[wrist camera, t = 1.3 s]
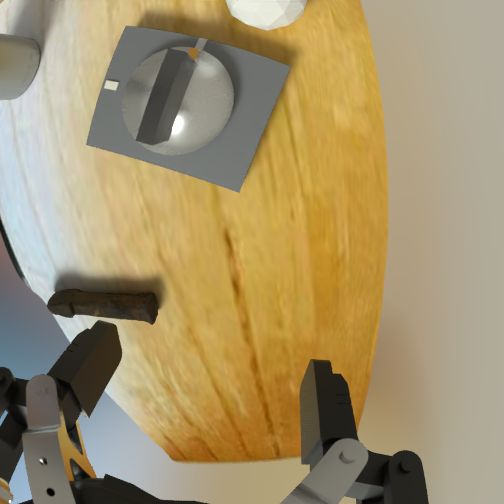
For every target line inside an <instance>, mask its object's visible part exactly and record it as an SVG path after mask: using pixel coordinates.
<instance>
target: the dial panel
mask: <svg viewBox="0 0 504 504" xmlns="http://www.w3.org/2000/svg"><path fill="white" fill-rule="evenodd" d="M173 47H191V48H197V49H200V50H203V51H205V52H207V53H209V54H211V55H212V56H214V57H215V58H216V59H217V60H219V61H220V62H221V64H222V65H223V66H224V67H225V69H226V70H227V72H228V74H229V76H230V78H231V81H232V84H233V89H234V105H233V110H232V113H231V116H230V118H229V120H228V123H227V124H226V126H225V127H224V129H223V130H222V131H221V133H220V134H219V135H218V136H217V137H216V138H215V139H214V140H212V141H211V142H210V143H208V144H207V145H205V146H204V147H202V148H200V149H198V150H196V151H193V152H190V153H187V154H181V155H164V154H159V153H156V152H153V151H150V150H149V149H147V148H145V147H143V146H142V145H141V144H139V143H138V142H137V141H136V140H135V139H134V138H133V136H132V135H131V134H130V132H129V130H128V129H127V127H126V124H125V122H124V118H123V112H122V99H123V93H124V90H125V87H126V84H127V82H128V80H129V78H130V76H131V75H132V73H133V72H134V71H135V69H136V68H137V67H138V66H139V65H140V64H141V63H142V62H143V61H145V60H146V59H147V58H149V57H150V56H152V55H153V54H155V53H157V52H160V51H162V50H165V49H168V48H173ZM290 68H291V67H290V66H288V65H285V64H283V63H280V62H277V61H275V60H272V59H269V58H267V57H264V56H261V55H258V54H255V53H252V52H249V51H246V50H243V49H240V48H236V47H233V46H229V45H226V44H222V43H219V42H215V41H211V40H207V39H205V38H201V37H200V38H199V37H194V36H190V35H185V34H180V33H174V32H169V31H163V30H157V29H150V28H142V27H133V26H126V27H125V29H124V31H123V33H122V36H121V38H120V40H119V43H118V45H117V47H116V50H115V52H114V55H113V57H112V60H111V62H110V65H109V68H108V71H107V73H106V76H105V79H104V82H103V85H102V88H101V91H100V94H99V98H98V101H97V104H96V108H95V111H94V115H93V119H92V123H91V127H90V131H89V135H88V139H87V143H86V145H89V146H92V147H96V148H100V149H103V150H107V151H111V152H114V153H118V154H121V155H125V156H128V157H131V158H135V159H138V160H142V161H145V162H148V163H151V164H155V165H158V166H161V167H164V168H168V169H171V170H174V171H177V172H180V173H183V174H186V175H189V176H192V177H195V178H198V179H201V180H204V181H207V182H210V183H213V184H216V185H219V186H222V187H225V188H228V189H230V190H233V191H236V192H240V189H241V187H242V184H243V181H244V179H245V176H246V174H247V171H248V169H249V166H250V164H251V161H252V159H253V156H254V154H255V151H256V149H257V146H258V144H259V141H260V139H261V136H262V134H263V131H264V129H265V127H266V124H267V122H268V119H269V117H270V115H271V112H272V110H273V107H274V105H275V103H276V100H277V98H278V96H279V93H280V91H281V89H282V86H283V84H284V82H285V79H286V77H287V75H288V73H289V70H290Z"/></svg>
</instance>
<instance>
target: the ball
mask: <svg viewBox="0 0 504 504" xmlns="http://www.w3.org/2000/svg"><path fill="white" fill-rule="evenodd" d="M225 1H226V3H227V5H228V8H229V10H230V13H231V15H232V16H234V17H235V18H237V19H239V20H240V21H242V22H243V23H245V24H247V25H250V26H253V27H257V28H260V29H263V30H266V31H268V30H272V29H275V28H279V27H283V26H287V25H290V24H291V23H293V22H294V21H295V20H297V19H298V18H300V17H301V16H302V14H303V11H304V9H305V6H306V3H307V0H225Z"/></svg>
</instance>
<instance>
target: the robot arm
mask: <svg viewBox="0 0 504 504" xmlns="http://www.w3.org/2000/svg"><path fill="white" fill-rule="evenodd" d="M39 59H40V50H39V46H38V44H37V42H36V41H35V40H33V39H29V38H24V37H18V36H13V35H7V34H0V100H10V99H15V98H17V97H19V96H20V95H22V94H23V93H24V92H25V91H26V90H27V88H28V87H29V85H30V84H31V82H32V80H33V78H34V77H35V74H36V71H37V69H38V65H39ZM121 358H122V348H121V344H120V340H119V335H118V331H117V327H116V325H115V324H112V323H108V322H105V321H101V320H98V321H97V322H96V323H95V324H94V325H93V327H92V328H91V329H86V330H84V331H82V332H81V333H79V334H78V335H77V336H76V337H75V338H74V340H73V341H72V342H71V344H70V345H69V346H68V347H67V349H66V351H64V352H63V354H62V355H61V356H60V358H59V359H58V361H57V362H56V363H55V364H54V366H53V367H52V368H51V370H50V371H49V373H47V375H45V374H40V375H36V376H34V377H32V378H31V379H30V380H24V379H19V378H14V376H13V374H12V373H11V371H10V370H9V369H7V368H5V367H0V418H1V416H2V415H3V413H4V411H5V410H6V411H7V412H8V414H7V416H6V417H5V419H4V421H3V423H2V424H1V426H0V504H9V502H11V501H12V500H13V495H12V493H11V492H10V488H9V485H8V484H9V482H10V480H11V477H12V475H13V472H14V470H15V468H16V466H17V463H18V461H19V459H20V457H21V455H22V452H23V450H24V458H25V464H26V470H27V475H28V481H29V485H30V490H31V494H32V498H33V499H31V500H28V501H25V502H22V503H19V504H208V503H202V502H197V501H174V500H160V499H158V498H156V497H154V496H152V495H151V494H149V493H147V492H145V491H143V490H141V489H140V488H138V487H137V486H135V485H133V484H131V483H128V482H126V481H123V480H120V479H118V478H115V477H113V476H110V475H108V474H105V476H104V479H103V478H97V477H96V474H95V472H94V470H93V468H92V466H91V464H90V462H89V460H88V458H87V455H86V451H85V448H84V444H83V440H82V436H81V432H80V428H79V423H78V420H77V419H78V417H79V415H82V416H85V417H87V418H89V417H90V415H91V413H92V411H93V410H94V408H95V406H96V404H97V402H98V400H99V399H100V397H101V395H102V393H103V391H104V390H105V388H106V386H107V384H108V383H109V381H110V379H111V377H112V376H113V374H114V372H115V370H116V369H117V367H118V365H119V363H120V361H121ZM349 395H350V393H349V388H348V384H347V382H346V381H345V379H344V378H343V376H342V375H341V374H333V372H332V367H331V362H330V361H329V360H316V359H311V360H310V362H309V365H308V367H307V370H306V373H305V375H304V378H303V381H302V384H301V388H300V419H301V462H302V464H310V473H309V474H308V475H307V476H306V477H305V478H304V480H303V481H302V482H301V483H300V484H299V485H298V486H297V487H296V488H295V489H294V490H293V491H292V492H291V493H290V494H289V495H288V496H287V497H286V498H285V499H284V500H283V501H282V502H281V503H280V504H338V503H339V502H340V501H341V499H342V498H343V497H344V496H346V497H351V498H356V504H429V503H428V495H427V489H426V483H425V477H424V471H423V466H422V462H421V459H420V458H419V456H418V455H417V454H415V453H414V452H411V451H407V450H406V451H405V450H403V451H399V452H397V453H395V454H394V455H393V456H388V455H383V454H378V453H374V452H371V451H369V450H367V449H366V447H365V446H364V445H363V444H362V443H361V442H359V440H358V436H357V431H356V425H355V419H354V414H353V409H352V405H351V398H350V396H349Z"/></svg>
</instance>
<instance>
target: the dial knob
mask: <svg viewBox="0 0 504 504" xmlns="http://www.w3.org/2000/svg"><path fill="white" fill-rule="evenodd" d="M233 105H234V89H233V84H232V81H231V78H230V76H229V74H228V72H227V70H226V69H225V67H224V66H223V65H222V64H221V62H220V61H219V60H217V59H216V58H215V57H214V56H212V55H211V54H209V53H207V52H205V51H203V50H200V49H197V48H191V47H173V48H168V49H165V50H162V51H160V52H157V53H155V54H153V55H152V56H150V57H149V58H147V59H146V60H145V61H143V62H142V63H141V64H140V65H139V66H138V67H137V68H136V69H135V71H134V72H133V73H132V75H131V76H130V78H129V80H128V82H127V84H126V87H125V90H124V93H123V99H122V112H123V118H124V122H125V124H126V127H127V129H128V130H129V132H130V134H131V135H132V136H133V138H134V139H135V140H136V141H137V142H138V143H139V144H141V145H142V146H143V147H145V148H147V149H149V150H150V151H153V152H156V153H159V154H164V155H181V154H187V153H190V152H193V151H196V150H198V149H200V148H202V147H204V146H205V145H207V144H208V143H210V142H211V141H212V140H214V139H215V138H216V137H217V136H218V135H219V134H220V133H221V131H222V130H223V129H224V127H225V126H226V124H227V123H228V120H229V118H230V116H231V113H232V110H233Z"/></svg>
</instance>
